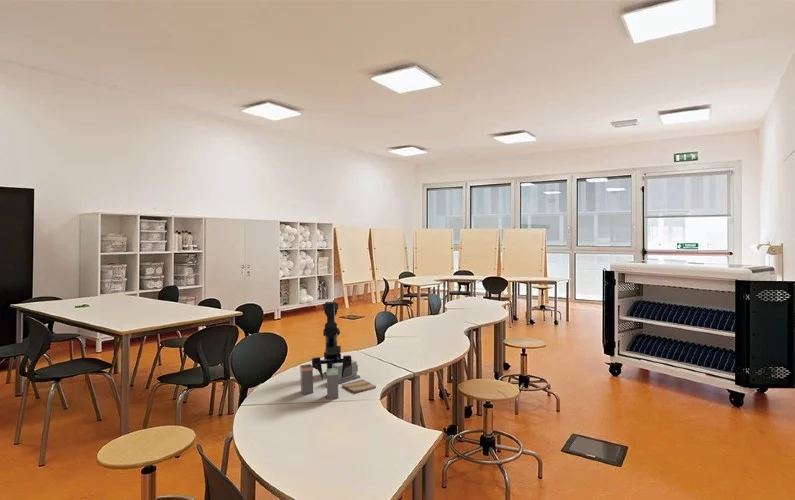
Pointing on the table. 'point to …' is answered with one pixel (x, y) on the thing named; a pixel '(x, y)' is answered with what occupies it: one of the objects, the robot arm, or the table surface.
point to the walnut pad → (358, 386)
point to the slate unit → (347, 372)
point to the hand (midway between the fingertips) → (332, 378)
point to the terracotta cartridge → (306, 378)
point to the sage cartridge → (332, 383)
